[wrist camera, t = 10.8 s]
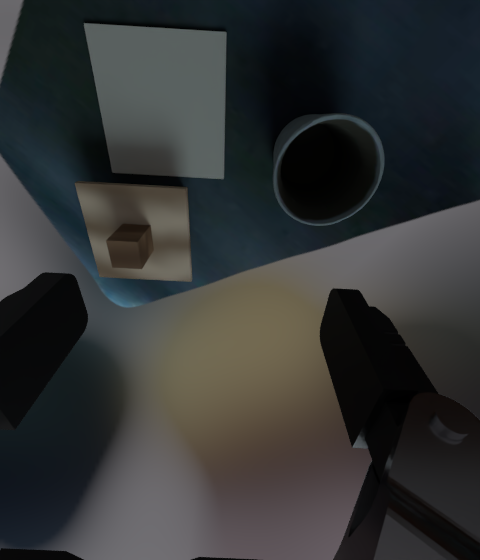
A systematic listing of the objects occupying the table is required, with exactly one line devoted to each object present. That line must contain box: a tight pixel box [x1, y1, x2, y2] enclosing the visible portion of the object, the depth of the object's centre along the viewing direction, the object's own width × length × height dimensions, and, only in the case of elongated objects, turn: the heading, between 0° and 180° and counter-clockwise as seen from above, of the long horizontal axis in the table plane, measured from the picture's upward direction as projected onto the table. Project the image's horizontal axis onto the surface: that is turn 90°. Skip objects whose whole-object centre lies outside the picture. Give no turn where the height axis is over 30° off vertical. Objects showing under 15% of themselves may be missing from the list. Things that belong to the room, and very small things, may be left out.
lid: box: [75, 181, 192, 282], centre depth 34 cm, size 13×13×6 cm
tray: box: [84, 23, 226, 179], centre depth 33 cm, size 15×15×1 cm
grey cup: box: [273, 113, 384, 226], centre depth 31 cm, size 10×10×12 cm
